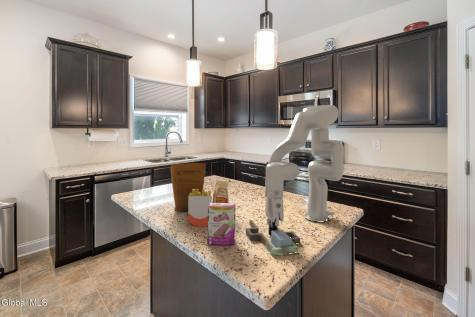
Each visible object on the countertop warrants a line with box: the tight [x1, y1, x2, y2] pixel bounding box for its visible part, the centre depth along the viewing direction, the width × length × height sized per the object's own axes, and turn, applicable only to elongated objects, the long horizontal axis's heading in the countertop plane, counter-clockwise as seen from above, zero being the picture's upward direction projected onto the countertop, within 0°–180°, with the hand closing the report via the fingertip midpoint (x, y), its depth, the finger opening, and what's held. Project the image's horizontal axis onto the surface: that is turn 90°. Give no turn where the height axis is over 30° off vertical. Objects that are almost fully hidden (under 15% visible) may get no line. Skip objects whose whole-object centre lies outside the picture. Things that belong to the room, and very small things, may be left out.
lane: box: [245, 218, 301, 257], centre depth 106 cm, size 19×31×2 cm, turn 13°
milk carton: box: [212, 179, 230, 203], centre depth 131 cm, size 9×9×20 cm
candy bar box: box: [206, 202, 237, 246], centre depth 99 cm, size 11×5×16 cm, turn 92°
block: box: [270, 229, 292, 248], centre depth 97 cm, size 5×9×5 cm, turn 13°
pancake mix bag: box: [170, 162, 206, 213], centre depth 138 cm, size 7×19×28 cm, turn 96°
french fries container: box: [187, 188, 213, 227], centre depth 118 cm, size 5×11×18 cm, turn 91°
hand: (272, 235), depth 103 cm, fingers closed
